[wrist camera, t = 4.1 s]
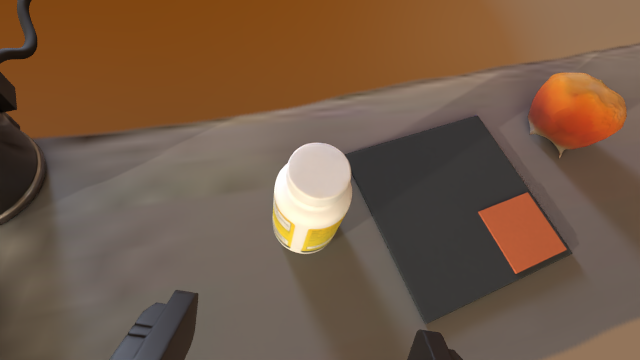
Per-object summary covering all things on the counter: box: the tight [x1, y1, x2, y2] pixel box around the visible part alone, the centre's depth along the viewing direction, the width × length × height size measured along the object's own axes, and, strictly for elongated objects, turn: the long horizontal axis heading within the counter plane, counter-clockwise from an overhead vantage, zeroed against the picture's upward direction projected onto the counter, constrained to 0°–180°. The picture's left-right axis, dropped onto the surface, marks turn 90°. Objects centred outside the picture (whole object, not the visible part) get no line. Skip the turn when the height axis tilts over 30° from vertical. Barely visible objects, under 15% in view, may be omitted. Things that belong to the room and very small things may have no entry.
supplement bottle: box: [273, 143, 352, 254], centre depth 26 cm, size 5×5×10 cm
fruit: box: [528, 73, 627, 158], centre depth 36 cm, size 8×8×8 cm
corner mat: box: [345, 116, 572, 324], centre depth 33 cm, size 16×16×1 cm
